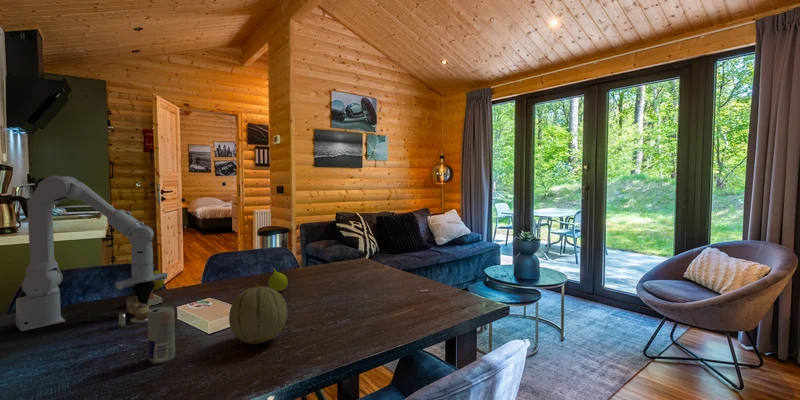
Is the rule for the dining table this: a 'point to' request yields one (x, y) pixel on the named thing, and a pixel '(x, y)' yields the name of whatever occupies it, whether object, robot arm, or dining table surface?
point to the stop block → (149, 296)
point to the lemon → (158, 281)
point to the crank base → (123, 320)
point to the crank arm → (137, 308)
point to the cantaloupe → (257, 314)
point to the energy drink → (161, 334)
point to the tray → (155, 300)
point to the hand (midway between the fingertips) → (143, 305)
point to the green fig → (278, 281)
